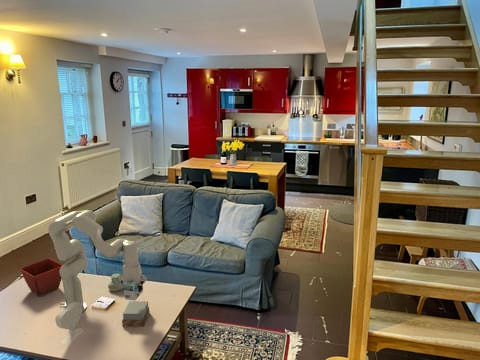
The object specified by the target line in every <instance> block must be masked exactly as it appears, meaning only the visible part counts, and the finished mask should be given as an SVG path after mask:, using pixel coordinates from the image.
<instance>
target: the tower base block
mask: <svg viewBox="0 0 480 360" xmlns="http://www.w3.org/2000/svg"><path fill="white" fill-rule="evenodd" d="M149 315H150V307H149V306H148V309H147V311H146V314H145V316H144V318H143V320H123V319H122V320H121V323H122V328H129V327H130V328H144V327H145V325H146V322H147V320H148V318H149Z"/></svg>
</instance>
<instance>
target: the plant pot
mask: <svg viewBox="0 0 480 360" xmlns="http://www.w3.org/2000/svg"><path fill="white" fill-rule="evenodd" d="M63 265H64V264H61V263H59V262H58V261H55V260H53V259H52V258H49V257H48V258H45V259H42V260H40V261H37V262H34V263H31V264H29V265H25V266H23V267H21V268H20V272H21V275H22V277H23V279H24V281H25V282H26V285H27V287H28V288H29V290H30V291H31V292H32V293H33V294H35V295H37V296H38V297H43V296H45V295H47V294H50V293H52V292H55V291H56V290H58V289H59V288H60V285H61V283H62V278H61V276H60V272H59V271H60V268H61V267H62V266H63Z"/></svg>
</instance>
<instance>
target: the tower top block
mask: <svg viewBox="0 0 480 360" xmlns="http://www.w3.org/2000/svg"><path fill="white" fill-rule="evenodd" d="M148 307H149V301H145V300H144V301H140V300H139V301H138V300H128V303H127V305H126V307H125V309H124V311H123V313H122V317H123V318H122V320H143V318H144V316H145V314H146V311H147V309H148Z"/></svg>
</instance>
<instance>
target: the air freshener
mask: <svg viewBox="0 0 480 360" xmlns="http://www.w3.org/2000/svg"><path fill="white" fill-rule="evenodd" d="M121 276H122V275H121V274H120V273H113V274H112V275H111V277H110V282H108V284H107V289H109V290H110V291H111V292H117V291H121V290H122V289H123V290H124V285H123V284H122V283H121V281H119V280H118V279H119V277H121Z"/></svg>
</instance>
